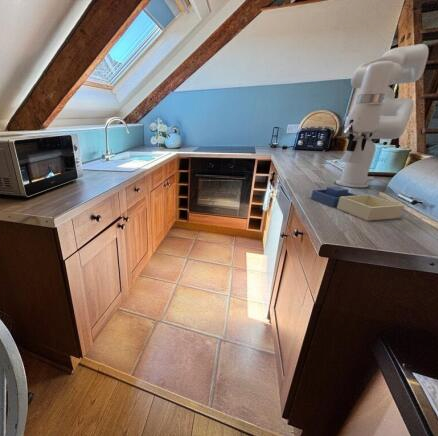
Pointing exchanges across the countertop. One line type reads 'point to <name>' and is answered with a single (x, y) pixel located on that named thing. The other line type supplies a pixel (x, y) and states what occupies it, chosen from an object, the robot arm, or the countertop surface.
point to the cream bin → (370, 207)
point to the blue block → (336, 192)
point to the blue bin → (327, 197)
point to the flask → (354, 153)
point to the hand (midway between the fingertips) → (354, 150)
